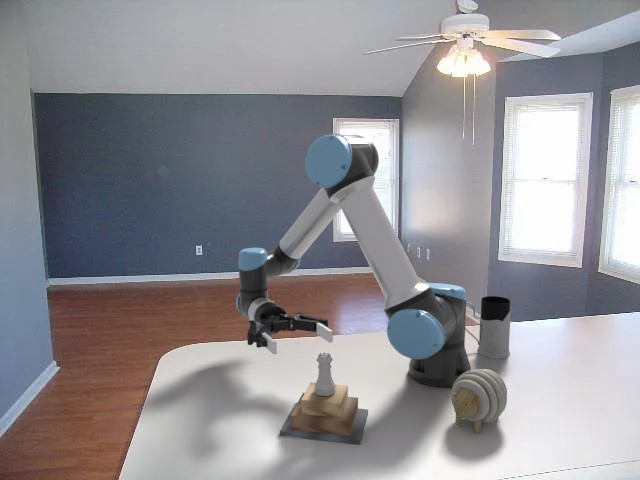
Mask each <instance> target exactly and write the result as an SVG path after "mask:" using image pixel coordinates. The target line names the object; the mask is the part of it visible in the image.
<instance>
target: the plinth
mask: <svg viewBox="0 0 640 480" xmlns="http://www.w3.org/2000/svg"><path fill="white" fill-rule="evenodd" d="M315 383H316V382H310V383H309V385H308V386H307V389H306V390H305V392H302V394H301V395H300V397H299V400H298V401H297V402H295V403H294V404H293V407H292V409H291V411H290V412H289V414H288V415H287V417H286V420H285V421H284V422H283V424H282V427H281V428H280V430H279V437H288V438H289V437H290V438H298V439H305V440H306V439H307V440H316V441H317V440H318V441H326V442H334V443H343V444H352V445H361V442H362V438H363V435H364V430H365V427H366V424H367V423H366V422H367V418H368V416H369V409H367V408H360V407H359V397H354V396H349V386H348V385H347V384H346V385H345V384H336V383H335V389H336V391H335V393H334V394H333V395H331V396H327V397H323V396H319V395H317V394H316V393H315V391H314V389H315Z"/></svg>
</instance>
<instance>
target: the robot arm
mask: <svg viewBox="0 0 640 480" xmlns="http://www.w3.org/2000/svg"><path fill="white" fill-rule="evenodd" d="M379 161H380V158H379V152H378V150H377V147H376V146H375V144H374V143H373V142H372V141H371V140H370V139H368V138H367V137H364V136H362V135H357V134H354V135H347V134H346V135H345V134H340V133H332V134H325V135H322V136H320V137H318V138H317V139H315V140H314V141H313V142H312V143H311V145H310V146H309V148H308V150H307V153H306V156H305V165H304V167H305V171H306V175H307V177H308V178H309V179H310V181H311V182H312V183H313V184H314V185H316V186H318V187H320V189H319V191H318V192H317V193H316V194H315V195H314V197H313V199H311V201H310V202H309V203H308V205H307V206H306V207H305V208H304V210H303V211H302V212H301V214H300V215H299V216H298V217H297V219H296V220H295V221H294V223H292V225H291V226H290V228H289V229H288V230H287V231H286V232H285V234H284V235H283V237H282V238H281V239H280V241H279V242H278V244H276V246H275V247H274V248H273V249H272V250H269V251H267V250H266V249H265V248H262V247H249V248H243V249H241V250H240V251H239V253H238V265H237V267H238V274H239V275H238V278H239V293H238V294H237V297H236V300H235V306H236V309H237V311H238V312H239V313H240V314H241V316H243V317H244V318H245V319H247V320H248V321H249V323H248V324H249V325H248V326H249V327H248V330H247V334H246V337H247V345H249V346H251V345H254V343H256V344H255V347H256V348H258V349H260V348H265V349H267V350H268V351H269V352H270V353H271V354H272V355H277V353H278V352H277V351H278V350H277V341H276V340H275V339H274V338H272V337H271V336H272V335H275V334H277V333H280V332H281V331H282V332H286V331H289V332H295V331H305V332H312V333H316V335H317V336H318V337H320V338H321V339H323V340H324V341H326V342H327V343H329V344H330V343H333V342H334V341H333V339H334V335H333V330H332V329H330V327H329V320H328V319H326V318H321V317H318V316H312V315H309V314H304V313H302V312H296V315H289V314H287V312H286V311H285V309H284V308H283V307H282V306H280V305H279V304H277V303H276V302H275V301H273V300H271V299H270V298H269V286H268V285H269V284H268V283H269V280H271V279H274V278H277V277H279V276H280V277H281V276H282V275H286V274H290V273H292V272H293V271H294V270H297V269H298V267H299V266H300V264H301V258H302V257H303V255H305V253H306V251H308V249H309V248H310V247H311V245H313V243H314V242H315V241H316V240H317V239H318V237H319V236H321V234H322V232H324V230H325V229H326V228H327V226H328V225H329V224H330V223H331V222H332V220H333V219H334V218H335V217H336V216H337V215H338V213H339V212H340V211H342V213H343V215H344V218H345V219H346V221H347V223H348V225H349V227H350V230H351V231H352V233H353V235H354V237H355V239H356V241H357V242H358V246H360V247H359V248H360V249H361V251H362V253H363V256H364V257H365V260H366V261H367V263H368V265H369V267H370V270H371V271H372V273H373V276H374V278H375V280H376V282H377V283H378V285H379V288H380V290H381V292H382V293H383V296H384V298H385V300H384V303H383V304H384V305H383V307H382V308H383V311H384V313H385V315H386V317H387V319H388V322H387V327H386V334H387V338H388V341H389V343H390V345H391V346H392V348H393V349H394V350H395V351H396V352H397V353H398V354H400V355H401V356H404V357H407V358H409V359H410V361H409V363H408V373H409V376H410V377H411V378H412V379H413V380H415V381H416V382H418V383H420V384H424V385H426V386H431V387H436V388H452V387H453V384H454V382H455V381H456V379H458V378H459V377H460V376H461V375H462V374H463V373H465V372H467V371H470V370H472V366H471V363H470V360H469V357H468V353H467V349H466V347H465V346H466V345H465V342H466V341H465V339H466V338H465V337H466V330H465V328H466V315H467V313H466V311H467V310H466V309H467V303H466V302H468V300H467V291H466V289H465V288H464V287H462V286H459V285H455V284H450V283H449V284H448V283H439V282H422V281H421V280H420V279H419V276H418V275H417V273H416V271H415V269H414V267H413V265H412V263H411V261H410V259H409V256H408V255H407V253H406V251H405V249H404V247H403V245H402V242H401V241H400V239H399V237H398V235H397V233H396V231H395V229H394V227H393V225H392V222H391V221H390V219H389V217H388V215H387V213H386V211H385V210H384V207H383V205H382V203H381V201H380V199H379V197H378V196H377V193H376V191H375V189H374V185H375V184H374V183H375V181H376V177H375V174H376V172H377V170H378V168H379ZM291 326H292V327H291Z"/></svg>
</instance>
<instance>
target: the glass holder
mask: <svg viewBox="0 0 640 480" xmlns="http://www.w3.org/2000/svg"><path fill="white" fill-rule="evenodd" d="M480 301H481V302H480V303H481V304H480V316H477V315H476V309H475V306H474V305H473V304H472V302H469V301H467V302H466V305H470V306H471V308H472V311H473V317H474V318H475V319H479V333H478V334H479V336H478V337H479V338H477V337H476V336H475V335H474V334H473V333H472V332H470V330H468V328H466V327H465V332H467V333H468V334H469V335H470V336H471V337H472V338H474V339H475V341H476V342H477V345H478V347H477V349H476V351H477V353H478V354H479V355H480V356H484V357H487V358H490V359H505V358H508V357H510V355H511V352H510V329H511V313H512V312H511V300H510V299H509V298H507V297H503V296H498V295H497V296H495V295H493V296H492V295H487V296H483V297H481V300H480Z"/></svg>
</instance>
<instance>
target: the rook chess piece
mask: <svg viewBox="0 0 640 480" xmlns="http://www.w3.org/2000/svg"><path fill="white" fill-rule="evenodd" d="M316 361H317V363H318V365H317V369H318V376H317V379H316V381H315V382H314V383H315V389H314V391H315V393H316V394H317V395H319V396H323V397H327V396H331V395H333V394H334V393H335V391H336V389H335V384H336V382H335V381H334V379H333V377H332V370H331V369H332V364H331V363H332V361H333V357H332V355H331V354H330V352H327V353H326V352H323V353H322V352H321V353H320V352H319V354H318V355H317V358H316Z"/></svg>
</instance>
